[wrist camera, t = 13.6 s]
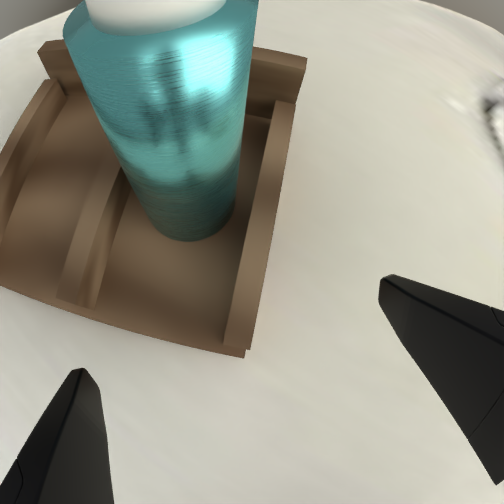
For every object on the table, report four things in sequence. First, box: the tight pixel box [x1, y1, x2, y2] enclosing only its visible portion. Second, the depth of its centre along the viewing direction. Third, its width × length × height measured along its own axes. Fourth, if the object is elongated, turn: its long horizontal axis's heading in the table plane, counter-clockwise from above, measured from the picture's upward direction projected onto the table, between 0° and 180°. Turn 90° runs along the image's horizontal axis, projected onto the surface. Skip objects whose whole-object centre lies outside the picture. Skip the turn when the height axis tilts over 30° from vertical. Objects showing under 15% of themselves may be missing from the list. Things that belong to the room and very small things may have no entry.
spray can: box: [63, 0, 259, 242], centre depth 12 cm, size 5×5×14 cm
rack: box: [0, 39, 307, 358], centre depth 16 cm, size 16×18×6 cm
